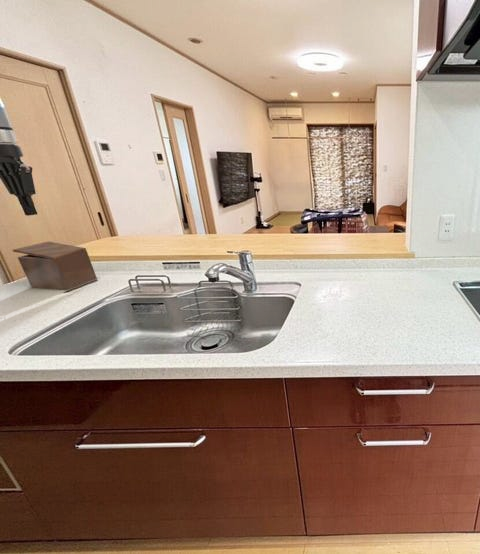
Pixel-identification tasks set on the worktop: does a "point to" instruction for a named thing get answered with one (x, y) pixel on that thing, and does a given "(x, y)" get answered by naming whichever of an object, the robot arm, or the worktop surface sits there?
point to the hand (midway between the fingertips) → (31, 214)
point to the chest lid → (49, 250)
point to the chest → (58, 271)
